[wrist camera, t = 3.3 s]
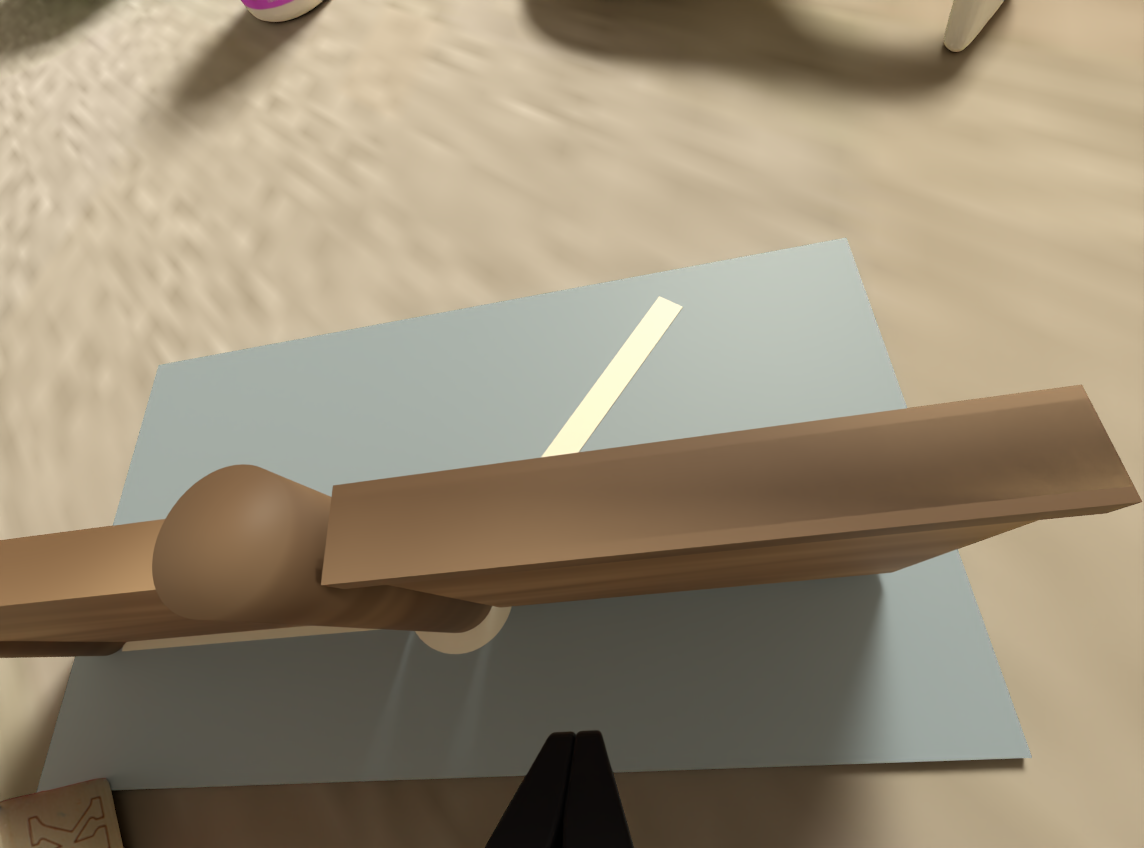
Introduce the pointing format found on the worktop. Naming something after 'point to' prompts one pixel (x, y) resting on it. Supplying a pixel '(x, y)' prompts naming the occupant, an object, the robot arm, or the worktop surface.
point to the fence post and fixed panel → (198, 575)
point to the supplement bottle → (279, 8)
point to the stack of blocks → (62, 818)
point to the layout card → (552, 630)
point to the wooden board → (731, 504)
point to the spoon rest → (968, 21)
